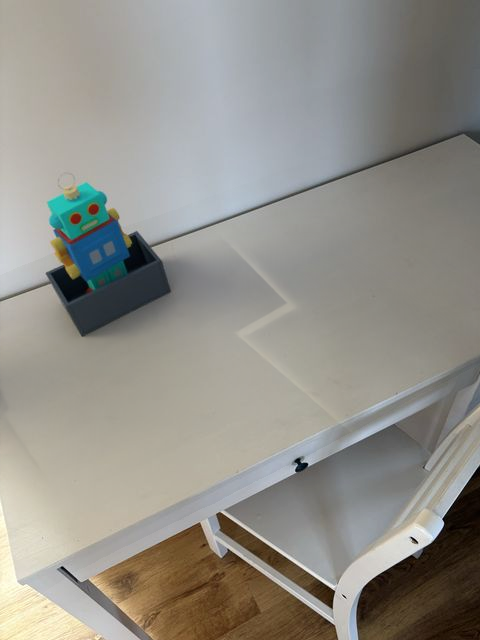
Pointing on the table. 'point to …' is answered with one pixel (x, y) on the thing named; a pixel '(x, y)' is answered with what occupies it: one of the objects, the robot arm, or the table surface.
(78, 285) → the tote
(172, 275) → the table surface
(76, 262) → the toy robot
